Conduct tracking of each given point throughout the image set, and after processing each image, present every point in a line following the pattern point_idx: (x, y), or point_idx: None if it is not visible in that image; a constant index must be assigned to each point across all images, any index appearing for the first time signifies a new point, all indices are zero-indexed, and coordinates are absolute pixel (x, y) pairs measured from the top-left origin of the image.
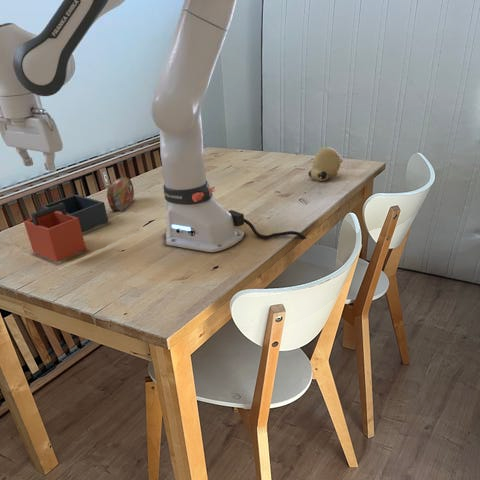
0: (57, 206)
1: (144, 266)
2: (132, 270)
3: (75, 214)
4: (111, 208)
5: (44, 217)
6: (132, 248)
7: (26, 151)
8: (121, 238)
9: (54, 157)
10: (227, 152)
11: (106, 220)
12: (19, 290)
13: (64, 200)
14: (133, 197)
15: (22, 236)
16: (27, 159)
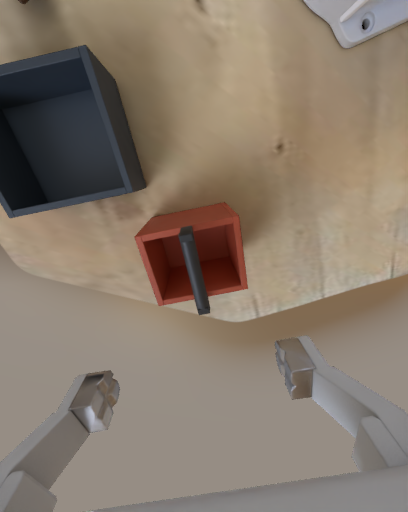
0: (195, 253)
1: (366, 156)
2: (356, 181)
3: (128, 175)
4: (25, 2)
5: (152, 262)
6: (287, 125)
7: (26, 458)
8: (224, 111)
9: (373, 391)
10: None
11: (113, 81)
12: (262, 315)
13: None
14: None
15: (67, 258)
16: (103, 419)
